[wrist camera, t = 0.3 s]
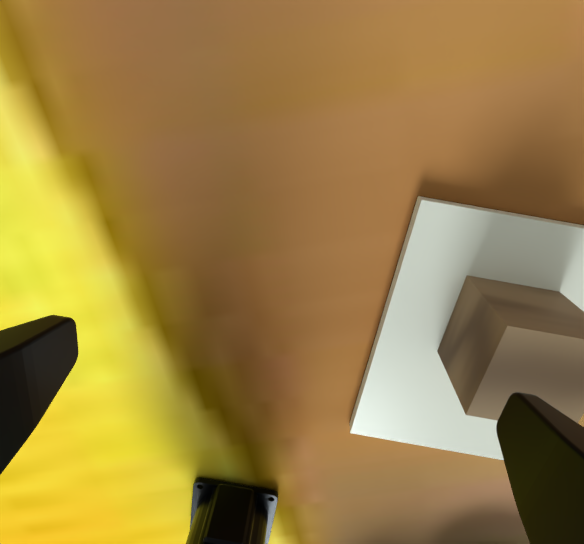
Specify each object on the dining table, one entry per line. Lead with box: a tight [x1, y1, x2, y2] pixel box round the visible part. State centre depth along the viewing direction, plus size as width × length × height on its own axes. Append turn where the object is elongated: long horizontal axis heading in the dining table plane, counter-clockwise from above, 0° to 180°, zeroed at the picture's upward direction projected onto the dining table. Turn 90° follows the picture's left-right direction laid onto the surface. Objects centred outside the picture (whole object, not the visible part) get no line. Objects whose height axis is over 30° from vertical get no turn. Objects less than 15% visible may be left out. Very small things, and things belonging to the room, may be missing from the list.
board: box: [349, 196, 584, 460], centre depth 23 cm, size 16×12×1 cm
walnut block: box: [437, 275, 584, 423], centre depth 19 cm, size 5×5×5 cm
